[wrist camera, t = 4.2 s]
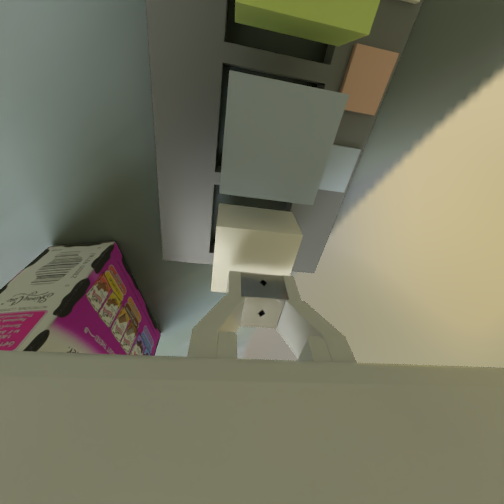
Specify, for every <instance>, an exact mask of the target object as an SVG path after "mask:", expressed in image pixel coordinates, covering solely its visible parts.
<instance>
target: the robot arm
mask: <svg viewBox="0 0 504 504" xmlns="http://www.w3.org/2000/svg"><path fill="white" fill-rule="evenodd" d="M239 327H262V328H275V329H276V330H277V331H278V333H279V334H280V335H281V336H282V338H283V339H284V340H285V342H286V343H287V345H288V346H289V347H290V349H291V350H292V351H293V353H294V354H295V355H296V357H297V358H298V360H297V361H292V360H263V359H237V335H236V334H235V333H236V332H237V330H238V329H239ZM0 504H504V368H494V367H493V368H492V367H463V366H436V365H435V366H434V365H407V364H378V363H357V362H356V360H355V358H354V355H353V353H352V351H351V349H350V346H349V344H348V342H347V340H346V338H345V336H344V335H342V334H341V333H340V332H339V331H338V330H337V329H336V328H334V327H333V326H332V325H331V324H330V323H329V322H328V321H326V320H325V319H324V318H323V317H322V316H321V315H320V314H319V313H317V312H316V311H315V310H314V309H313V308H311V307H310V306H309V305H308V304H307V303H306V302H305V301H301V298H300V295H299V292H298V289H297V286H296V283H295V280H294V277H293V276H285V275H282V276H281V275H269V274H258V273H249V272H239V271H229V274H228V282H227V289H226V296H224V297H223V298H222V299H221V300H220V301H219V302H218V303H217V304H216V305H215V306H214V307H213V308H212V309H211V311H210V312H209V313H208V314H207V315H206V316H205V317H204V318H203V319H202V320H201V321H200V322H199V323H198V324H197V325H196V326H195V327H194V328H193V329H192V335H191V340H190V345H189V351H188V356H187V357H178V356H149V355H121V354H92V353H63V352H33V351H4V350H0Z"/></svg>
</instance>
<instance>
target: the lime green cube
mask: <svg viewBox="0 0 504 504" xmlns="http://www.w3.org/2000/svg"><path fill="white" fill-rule="evenodd" d="M379 3H380V0H235V22H236V23H240V24H244V25H249V26H253V27H257V28H261V29H266V30H270V31H274V32H278V33H283V34H287V35H291V36H295V37H300V38H304V39H308V40H312V41H317V42H321V43H325V44H329V45H334V46H338V47H339V46H341V45H344V44H346V43H349V42H352V41H354V40H357V39H359V38H362V37H364V36H367V35H369V33H370V30H371V27H372V24H373V21H374V18H375V15H376V12H377V9H378V6H379Z"/></svg>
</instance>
